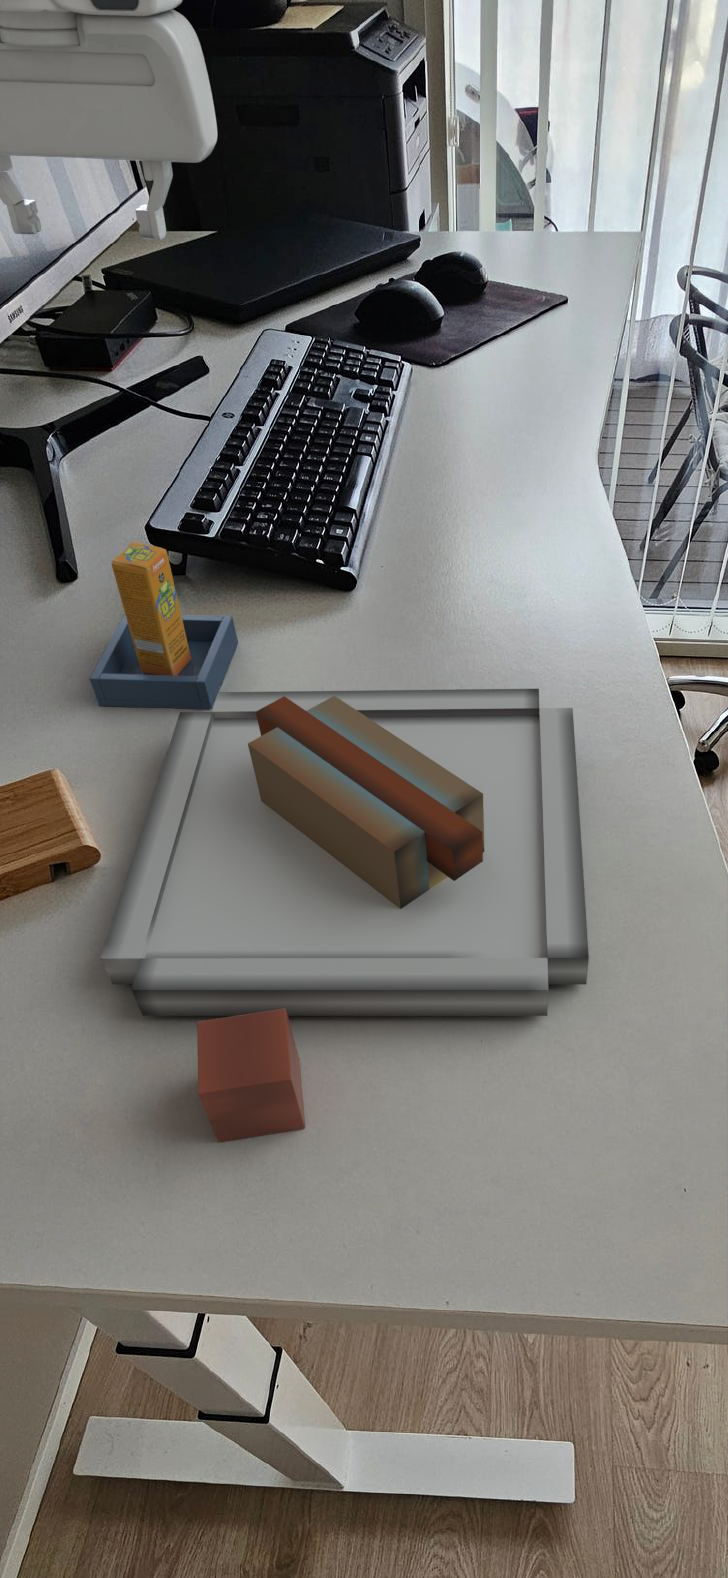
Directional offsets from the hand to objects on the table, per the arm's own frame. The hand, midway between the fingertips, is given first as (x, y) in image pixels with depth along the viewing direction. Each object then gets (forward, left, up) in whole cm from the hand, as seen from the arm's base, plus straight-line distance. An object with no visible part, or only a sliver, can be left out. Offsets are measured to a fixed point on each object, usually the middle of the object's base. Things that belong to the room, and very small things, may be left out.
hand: (90, 234), depth 76 cm
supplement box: (+3, -14, -27) cm, 30 cm away
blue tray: (+3, -14, -27) cm, 31 cm away
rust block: (+20, -56, -27) cm, 66 cm away
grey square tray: (+23, -35, -27) cm, 50 cm away
